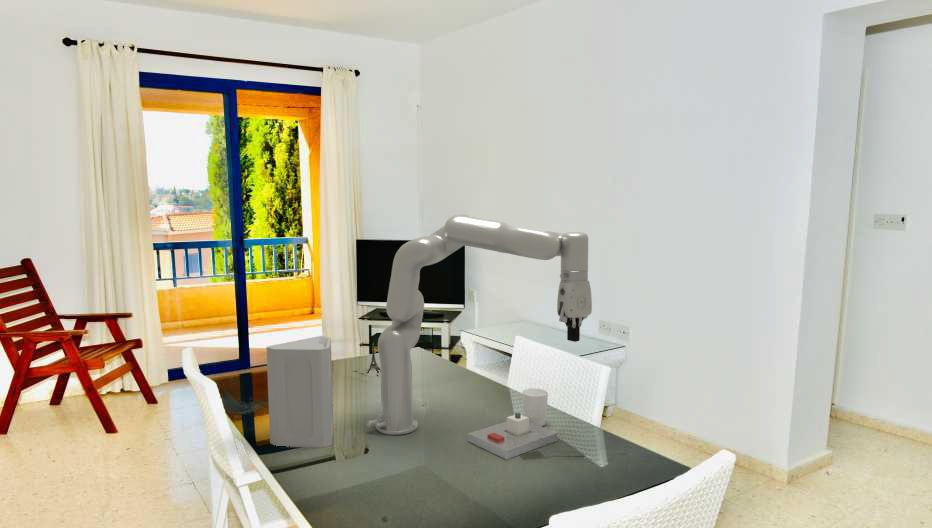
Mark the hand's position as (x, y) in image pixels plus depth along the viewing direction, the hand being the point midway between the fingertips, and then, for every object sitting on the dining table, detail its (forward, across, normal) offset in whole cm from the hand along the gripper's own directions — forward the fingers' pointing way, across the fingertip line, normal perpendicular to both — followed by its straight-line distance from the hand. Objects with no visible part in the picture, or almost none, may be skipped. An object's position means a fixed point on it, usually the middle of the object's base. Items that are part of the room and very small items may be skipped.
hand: (573, 340), depth 170 cm
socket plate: (+29, -14, +10) cm, 34 cm away
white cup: (+29, +1, +16) cm, 33 cm away
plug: (+29, -12, +10) cm, 33 cm away
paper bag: (+29, -58, +48) cm, 81 cm away
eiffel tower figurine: (+30, -9, +99) cm, 104 cm away
